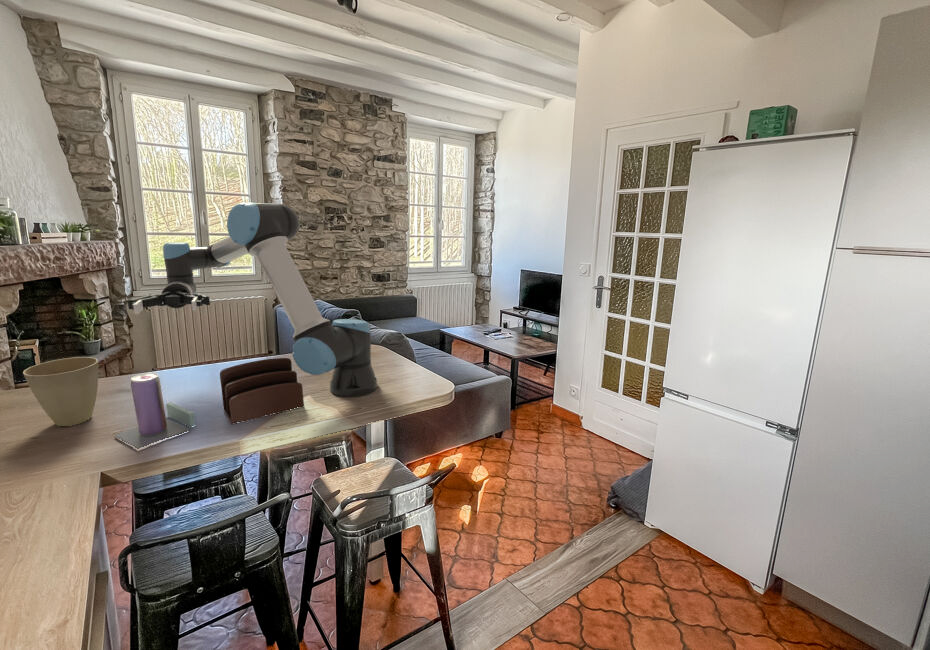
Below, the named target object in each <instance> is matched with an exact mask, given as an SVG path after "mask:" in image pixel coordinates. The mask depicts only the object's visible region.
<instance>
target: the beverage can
mask: <svg viewBox="0 0 930 650" xmlns="http://www.w3.org/2000/svg"><path fill="white" fill-rule="evenodd" d="M160 379H161V378H160V377H159V374H158V373H154V372H150V373H148V372H147V373H146V372H145V373H141V374H138V375H135V376H133V377H131V378H130V387H131V393H132V398H133V399H132V400H133V405H134V409H135V410H134V411H135V416H136V417H135V418H136V421H137V427H138V429H139V433H140V434H141V435H142V436H155V435H158V434H161V433H163V432H164V431H165V430H166V428H167V423H166V418H167V416H166V410H165V404H164V397H163V392H162V391H163V390H162V383H161V380H160Z"/></svg>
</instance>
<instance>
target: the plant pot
mask: <svg viewBox="0 0 930 650" xmlns="http://www.w3.org/2000/svg"><path fill="white" fill-rule="evenodd" d="M22 374H23V377H24V379H25V381H26V382H27V385H28V386H29V389H30V391H31V392H32V394H33V396H34V397H35V399H36V401H37V402H38V404H39V405H40V406H41V409H43V412H45V413H46V415H47V416H48V417H49V419H51V421H52V422H53V423H54V425H56V427H60V426H68V427H72V426H71V425H73V426H76V424H78V425H80V424H79V423H81V424H83V423H82V422H84V423H86V422H88V421H90V420H91V419H92V417H93V413H94V409H95V405H96V400H97V394H98V387H99V360H98V358H96V357H92V356H91V357H90V356H78V357H77V356H76V357H68V358H61V359H60V358H59V359H54V360H49V361H45V362H42V363H38V364H35V365H32V366H29V367H28V368H26V369H24V370H23V372H22ZM90 418H91V419H90ZM87 420H88V421H87ZM85 421H86V422H85Z"/></svg>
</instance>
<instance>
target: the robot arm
mask: <svg viewBox="0 0 930 650" xmlns="http://www.w3.org/2000/svg"><path fill="white" fill-rule="evenodd" d="M300 223H301V222H300V220H299V216H298V214H297V213H296V212H295V210H294V209H292V208H291V207H290V206H288V205H285V204H283V203H268V202H267V203H266V202H265V203H262V202H261V203H259V202H251V201H248V202H240V203H237V204H235V205H233V207H232V208H231V209H230V211H229V213H228V215H227V221H226V228H227V229H226V230H227V233H228V236H227V237H226V238H223V239H220V240H218V241H216V242H215V243H213V244H210V245H207V246H200V247H199V246H198V247H197V246H195V247H190V244H189V243H188V242H182V241H181V242H179V241H178V242H177V241H176V242H166V243H164V244H163V246H162V247H163V248H162V249H163V250H162V253H163V254H162V256H163V259H164V267H165V271H166V281H167V285H166V286H165V288H163V290H162V291H161V293H159V294H156V295H155V296H154V295H153V294H147V295H144V296H139V297H137V298H136V297H135V298H131V299H127V301H126V302H127V307H128V309H129V310H133V312H134V315H139V314H140V313H141V312H142V311H143V310H144V309H147V308H151V307H156V306H158V307H165V306H167V307H169V308H171V309H181V308H183V307H185V306H187V305H191V307H192V311H193V312H195V311H197V310H198V307H202V306H204V305H205V306H209V305H211V302H210V296H209V295H206V294H202V293H200V292H198V291H197V286H196V283H195V281H194V271H195V270H203V269H211V268H212V269H213V268H222V267H226V266H228V265H230V263H231V262H232V261H234V260H237V259H239V258H240V257H243V256H247V255H250V257H254V258H256V259H257V260H258V262H259V264H260V266H261V268H262V269H263V272H264V273H265V275H266V277H267V279H268V281H269V284H270V285H271V287H272V289H273V291H274V293H275V294H276V297H277V299H278V300H279V302H280V304H281V306H282V308H283V310H284V312H285V313H286V314H285V315H286V316H287V317H288V320H289V322H290V324H291V325H292V328H293V329H294V332H293V335H292V340H293V341H294V344H293V346H292V351H293V352H292V358H293V360H294V362H295V364H296V365H297V367H298V368H300V370H301V371H303V372H304V373H306V374H309V375H312V376H319V375H320V376H321V375H322V374H323V375H324V374H327V373H329V372H331V371H332V375H331V376H332V378H331V380H330V383H329V388H330V389H329V390H330V393H332V394H333V395H336V396H341V397H358V396H364V395H368V394H370V393H373V392H374V391H376V389H377V388H378V379H377V376H376V375H375V372H374V371H375V370H374V369H373V366H372V353H371V347H372V346H371V345H372V344H371V334H372V332H371V327H370V324H369V322H368V321H365V320H364V319H363V320H362V319H356V318H355V319H353V318H343V319H341V318H339V319H334V320H332V321H331V320H330V319H327V318H324V317H323V316H322V314H321V312H320V310H319V308H318V306H317V304H316V302H315V301H314V298H313V297H312V295H311V293H310V290H309V289H308V286H307V285H306V283H305V281H304V279H303V277H302V275H301V273H300V271H299V269H298V267H297V265H296V264H295V262H294V260H293V258H292V255H291V254H290V252H289V250H288V248H287V244H288V241H291V240H293V239H294V238H295V237H296V236H297V235H298V233H299V231H300V226H301V225H300Z"/></svg>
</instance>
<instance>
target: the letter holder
mask: <svg viewBox="0 0 930 650" xmlns="http://www.w3.org/2000/svg"><path fill="white" fill-rule="evenodd" d="M219 379H220V387H221V389H220V390H221V395H222V396H221V397H222V405H223V407H222V408H223V413H224V414H225V416H226V418H227V419H228V421H229V422H230V424H231V423H232V424H231V425H234V424H233V423H236V424H238V423H237V422H240V423H243V422H242V421H244V422H248V421H247V420H249V421H252V420H251V419H253V420H256V419H255V418H257V419H260V418H259V417H261V418H263V417H262V416H265V415H269V416H271V415H270V414H273V413H277V414H279V413H278V412H281V413H284V412H283V411H285V412H287V411H286V410H289V411H291V410H290V409H293V410H295V409H294V408H297V407H301V408H304V407H305V403H304V402H305V401H304V400H305V399H304V389H303V388H304V387H303V384H302V383H301V382H298V373H297V372H296V371H295V370H293V364H292V360H291V358H289V357H279V358H278V357H277V358H266V359H260V360H254V361H249V362H243V363H240V364H237V365H233V366H230V367H226V368H224V369H221V370H220V372H219ZM303 406H304V407H303ZM297 409H298V408H297ZM273 415H274V414H273ZM265 417H266V416H265Z"/></svg>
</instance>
